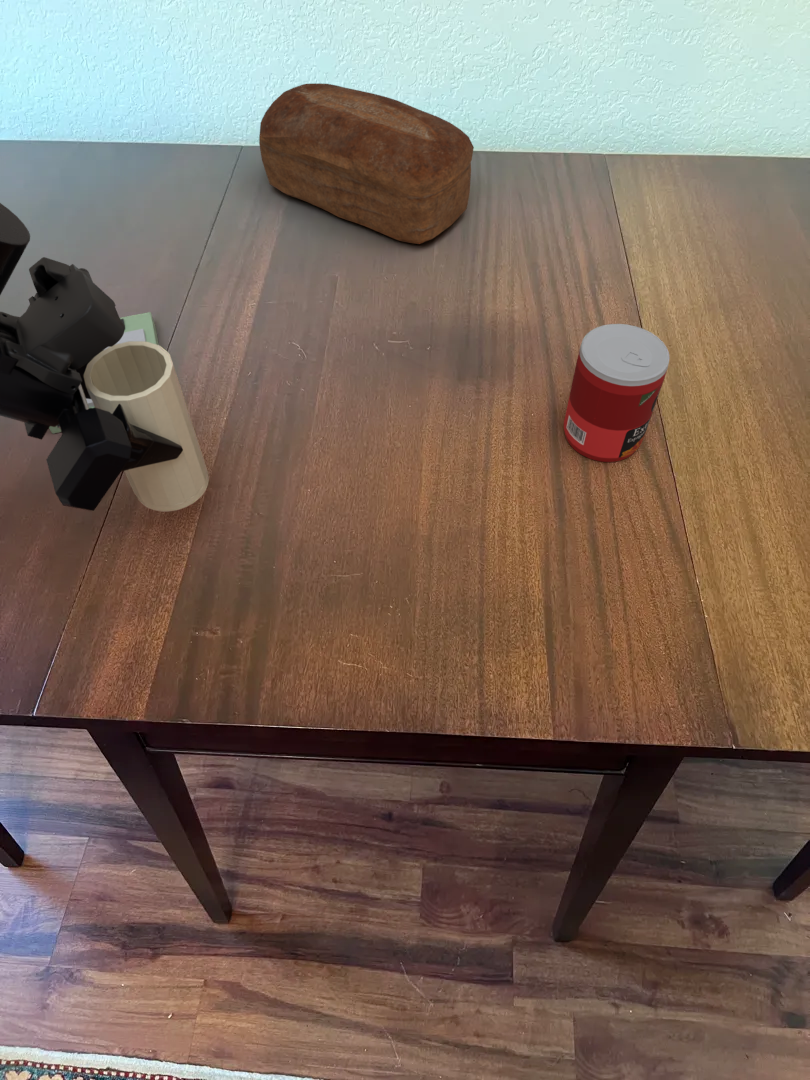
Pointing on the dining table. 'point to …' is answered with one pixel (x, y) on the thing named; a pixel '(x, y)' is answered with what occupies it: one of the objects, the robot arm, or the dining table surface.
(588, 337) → the canned food
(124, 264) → the dining table surface
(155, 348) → the cup
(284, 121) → the bread
